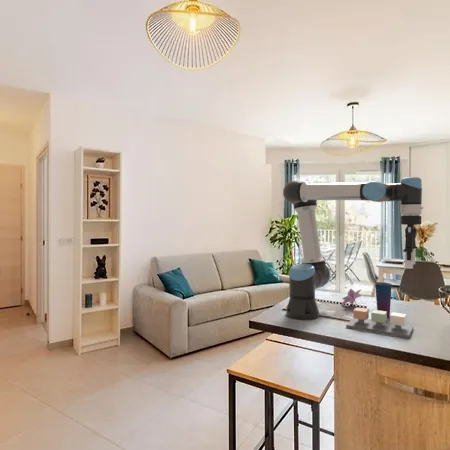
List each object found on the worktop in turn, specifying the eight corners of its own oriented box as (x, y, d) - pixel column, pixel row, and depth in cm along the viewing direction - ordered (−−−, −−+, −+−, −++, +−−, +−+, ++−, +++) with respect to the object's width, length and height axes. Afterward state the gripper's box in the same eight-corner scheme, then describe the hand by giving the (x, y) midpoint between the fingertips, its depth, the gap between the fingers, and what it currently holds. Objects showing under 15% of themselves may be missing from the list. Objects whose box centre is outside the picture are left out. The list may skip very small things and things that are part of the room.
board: (346, 327, 136) (346, 319, 136) (354, 319, 147) (353, 312, 147) (409, 338, 123) (409, 329, 123) (413, 328, 133) (412, 320, 133)
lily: (366, 307, 171) (357, 289, 175) (371, 303, 160) (362, 285, 164) (343, 314, 172) (336, 296, 175) (347, 311, 161) (339, 292, 165)
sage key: (371, 321, 134) (371, 312, 134) (373, 318, 138) (373, 309, 138) (384, 323, 131) (384, 314, 131) (386, 319, 135) (386, 311, 135)
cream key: (390, 324, 130) (390, 315, 130) (392, 320, 134) (392, 312, 134) (404, 326, 127) (404, 317, 127) (406, 322, 131) (406, 314, 131)
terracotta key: (353, 318, 138) (353, 310, 138) (356, 315, 142) (356, 307, 142) (366, 320, 135) (366, 311, 135) (368, 317, 139) (368, 309, 139)
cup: (393, 318, 147) (393, 285, 147) (377, 318, 149) (377, 285, 148) (389, 314, 154) (389, 282, 154) (373, 313, 155) (373, 282, 155)
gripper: (419, 215, 123) (419, 271, 124) (423, 214, 144) (422, 263, 145) (397, 215, 128) (396, 269, 128) (403, 215, 148) (403, 261, 149)
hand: (410, 266), depth 136 cm, fingers open, 13 cm apart
